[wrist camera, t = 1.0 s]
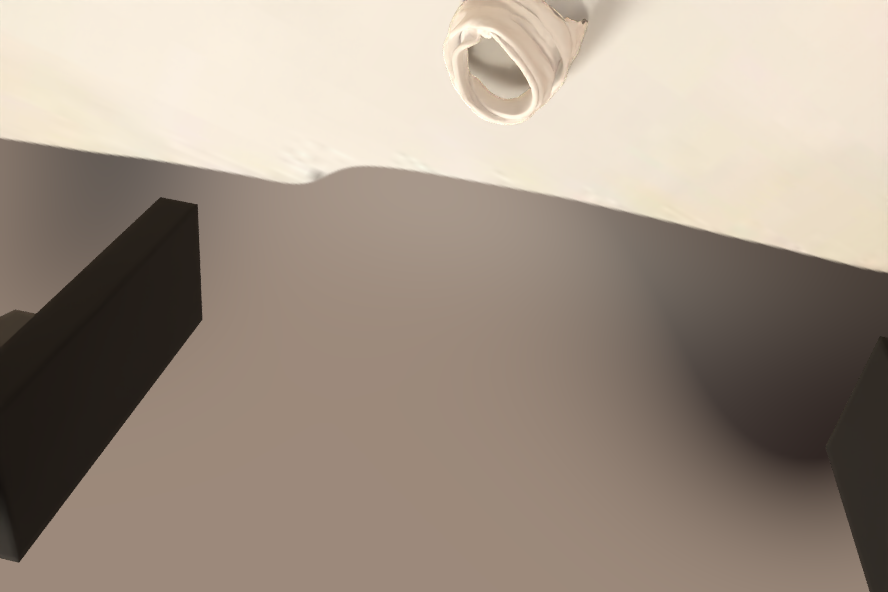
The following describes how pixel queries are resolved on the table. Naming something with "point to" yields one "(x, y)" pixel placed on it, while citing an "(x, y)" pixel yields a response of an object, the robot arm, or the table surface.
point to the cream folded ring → (512, 53)
